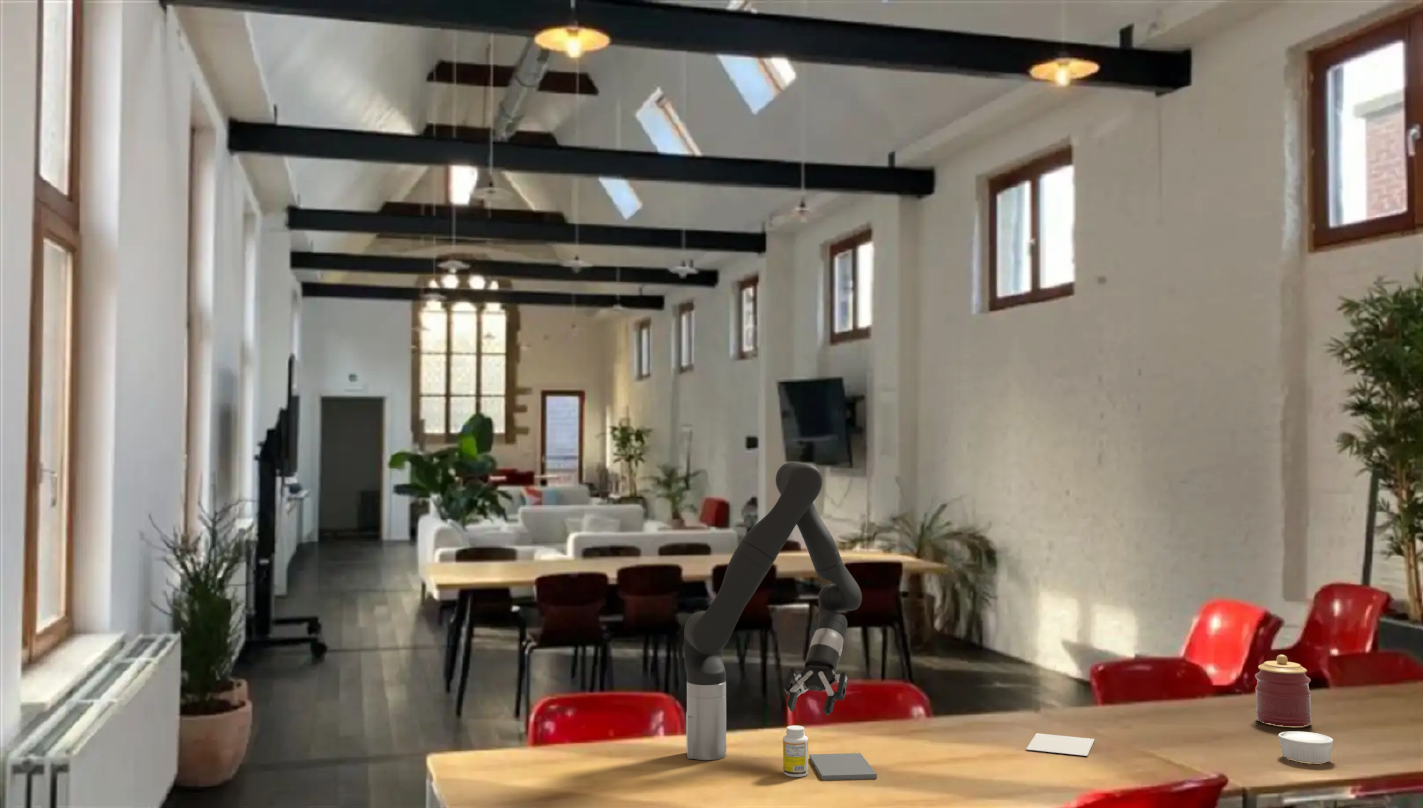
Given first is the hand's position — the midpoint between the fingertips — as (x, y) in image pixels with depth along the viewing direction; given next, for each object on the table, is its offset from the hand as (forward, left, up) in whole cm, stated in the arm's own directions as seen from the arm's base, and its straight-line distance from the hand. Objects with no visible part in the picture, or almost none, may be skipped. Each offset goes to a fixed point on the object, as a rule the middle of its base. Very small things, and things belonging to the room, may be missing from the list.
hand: (808, 711), depth 253 cm
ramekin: (+114, -6, -12) cm, 115 cm away
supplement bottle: (-4, -7, -12) cm, 15 cm away
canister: (+129, +27, -12) cm, 133 cm away
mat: (+7, -4, -12) cm, 14 cm away
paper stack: (+65, +5, -13) cm, 67 cm away
